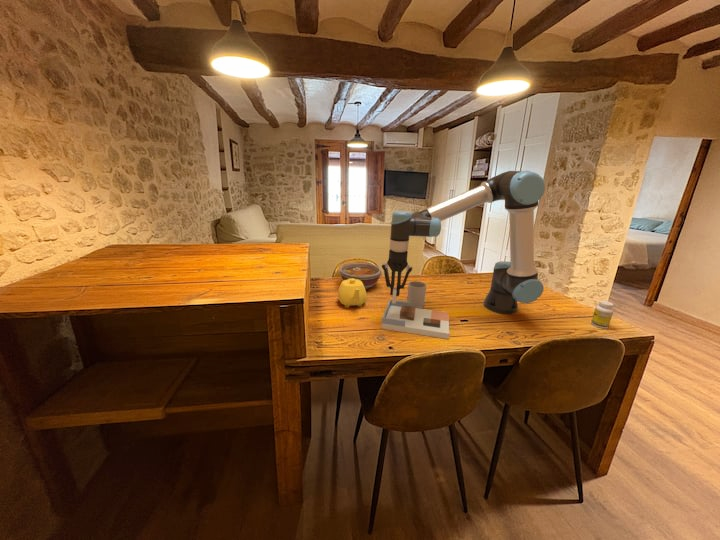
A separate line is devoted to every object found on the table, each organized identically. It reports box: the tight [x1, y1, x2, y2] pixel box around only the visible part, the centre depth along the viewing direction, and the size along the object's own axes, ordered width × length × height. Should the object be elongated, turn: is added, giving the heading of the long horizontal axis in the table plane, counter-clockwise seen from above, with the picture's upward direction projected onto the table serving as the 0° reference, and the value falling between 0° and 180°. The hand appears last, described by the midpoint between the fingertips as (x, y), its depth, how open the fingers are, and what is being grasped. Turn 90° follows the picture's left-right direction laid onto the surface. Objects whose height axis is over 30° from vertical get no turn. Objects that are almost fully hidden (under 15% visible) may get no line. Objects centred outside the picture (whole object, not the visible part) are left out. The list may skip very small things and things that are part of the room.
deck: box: [381, 299, 450, 340], centre depth 129 cm, size 27×19×5 cm
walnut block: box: [400, 305, 416, 321], centre depth 130 cm, size 6×6×4 cm
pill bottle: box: [590, 300, 614, 329], centre depth 131 cm, size 6×6×11 cm
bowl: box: [339, 262, 382, 290], centre depth 168 cm, size 23×23×10 cm
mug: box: [406, 280, 427, 309], centre depth 147 cm, size 12×8×11 cm
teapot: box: [337, 278, 368, 309], centre depth 144 cm, size 14×20×13 cm
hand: (394, 302), depth 130 cm, fingers closed
